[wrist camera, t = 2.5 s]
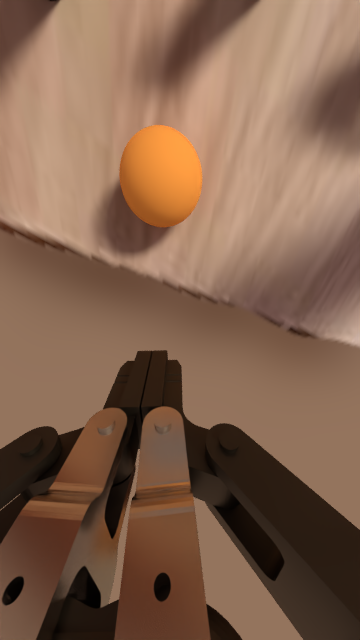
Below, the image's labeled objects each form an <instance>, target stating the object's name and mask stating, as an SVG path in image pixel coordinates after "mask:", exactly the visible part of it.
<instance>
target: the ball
mask: <svg viewBox="0 0 360 640" xmlns="http://www.w3.org/2000/svg"><path fill="white" fill-rule="evenodd" d="M119 175H120V184H121V189H122V192H123V195H124V198H125V200H126V202H127V204H128V206H129V207H130V209H131V210H132V211H133V212H134V213H135V215H136V216H138V217H139V218H140V219H141V220H143V221H144V222H146V223H148V224H150V225H153V226H156V227H170V226H174V225H176V224H178V223H180V222H182V221H183V220H185V219H186V218H187V217H188V216H189V215H190V214H191V212H192V211H193V210H194V208H195V206H196V204H197V202H198V200H199V197H200V193H201V188H202V170H201V165H200V161H199V158H198V156H197V153H196V151H195V149H194V147H193V146H192V144H191V143H190V141H189V140H188V139H187V138H186V137H185V136H184V135H183V134H181V133H180V132H178V131H177V130H175V129H173V128H171V127H168V126H163V125H154V126H149V127H146V128H144V129H142V130H140V131H139V132H137V133H136V134H135V135H134V136H133V137H132V138H131V140H130V141H129V142H128V144H127V146H126V147H125V149H124V152H123V155H122V158H121V163H120V174H119Z"/></svg>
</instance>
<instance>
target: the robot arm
mask: <svg viewBox="0 0 360 640" xmlns="http://www.w3.org/2000/svg"><path fill="white" fill-rule="evenodd" d="M167 356H168V355H167V351H166V350H164V351H138V352H137V355H136V358H135V361H127V362H126V363H125V364H124V365H123V366H122V367H121V368H120V370H119V372H118V375H117V377H116V380H115V383H114V384H113V386H112V389H111V391H110V394H109V396H108V398H107V401H106V403H105V405H104V408H103V410H101V411H99V412H98V413H96V414H95V415H93V416H92V417H91V418H90V419H89V421H88V422H87V424H86V425H85V427H83V428H80V429H78V430H74V431H71V432H68V433H65V434H61V435H58V433H57V431H56V430H55V429H54V428H52V427H48V426H46V427H45V426H44V427H39V428H36V429H33V430H31V431H29V432H27V433H25V434H24V435H22V436H20V437H19V438H17V439H16V440H14V441H13V442H11V443H10V444H8V445H6V446H5V447H3V448H2V449H0V509H1V508H3V507H4V506H5V505H7V504H8V503H9V502H10V501H11V500H13V499H14V498H15V497H16V496H18V495H19V494H20V495H19V496H18V497H17V498H15V499H14V500H13V501H12V502H10V503H9V504H8V505H7V506H6V507H4V508H3V509H2V510H1V511H0V640H242V639H241V637H240V635H239V634H238V633H237V632H236V631H235V629H234V628H233V627H232V626H231V625H230V623H229V622H228V621H227V620H226V619H225V618H224V617H223V616H222V615H220V614H219V613H218V612H217V611H216V610H215V609H213V608H212V607H211V606H209V605H207V604H206V597H205V589H204V581H203V572H202V564H201V556H200V547H199V539H198V531H197V522H196V515H195V506H194V499H193V497H196V498H198V499H200V500H203V501H205V503H206V504H207V506H208V508H209V509H210V511H211V512H212V513H213V515H214V516H215V518H216V519H217V520H218V522H219V523H220V525H221V526H222V527H223V529H224V530H225V532H226V533H227V534H228V535H229V537H230V538H231V540H232V541H233V543H234V544H235V545H236V547H237V548H238V549H239V551H240V552H241V553H242V555H243V556H244V558H245V559H246V560H247V562H248V563H249V565H250V566H251V567H252V569H253V570H254V572H255V573H256V574H257V576H258V577H259V579H260V580H261V581H262V583H263V584H264V586H265V587H266V588H267V590H268V591H269V592H270V594H271V595H272V596H273V598H274V599H275V601H276V602H277V604H278V605H279V606H280V608H281V609H282V611H283V612H284V613H285V615H286V616H287V617H288V619H289V620H290V621H291V623H292V624H293V626H294V627H295V629H296V630H297V631H298V633H299V634H300V635H301V637H302V638H303V640H360V530H359V529H358V528H357V527H355V526H354V525H353V524H352V523H351V522H349V521H348V520H347V519H346V518H345V517H344V516H342V515H341V514H340V513H339V512H338V511H336V510H335V509H334V508H333V507H332V506H331V505H329V504H328V503H327V502H326V501H325V500H324V499H322V498H321V497H320V496H319V495H318V494H316V493H315V492H314V491H313V490H312V489H310V488H309V487H308V486H307V485H306V484H305V483H303V482H302V481H301V480H300V479H299V478H298V477H296V476H295V475H294V474H293V473H292V472H290V471H289V470H288V469H287V468H286V467H284V466H283V465H282V464H281V463H280V462H279V461H277V460H276V459H275V458H274V457H273V456H271V455H270V454H269V453H268V452H267V451H266V450H264V449H263V448H262V447H261V446H260V445H258V444H257V443H256V442H255V441H254V440H253V439H251V438H250V437H249V436H248V435H247V434H245V433H244V432H243V431H242V430H241V429H239V428H237V427H236V426H234V425H231V424H225V423H224V424H217V425H215V426H213V427H212V428H211V429H210V430H208V429H205V428H202V427H198V426H196V425H194V424H192V423H191V422H190V421H189V420H187V418H186V417H185V415H184V413H183V408H182V374H181V365H180V364H179V362H178V361H177V360H168V357H167ZM138 449H140V455H139V465H138V476H137V485H136V492H135V496H134V497H133V498H132V501H131V505H130V511H129V519H128V527H127V536H126V544H125V553H124V562H123V570H122V578H121V588H120V596H119V600H117V601H114V602H112V603H110V604H109V599H110V595H111V591H112V586H113V582H114V577H115V571H116V565H117V551H118V543H119V537H120V532H121V528H122V524H123V520H124V516H125V512H126V508H127V504H128V500H129V495H130V492H131V488H132V483H133V479H134V475H135V470H136V465H135V462H136V457H137V452H138Z"/></svg>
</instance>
